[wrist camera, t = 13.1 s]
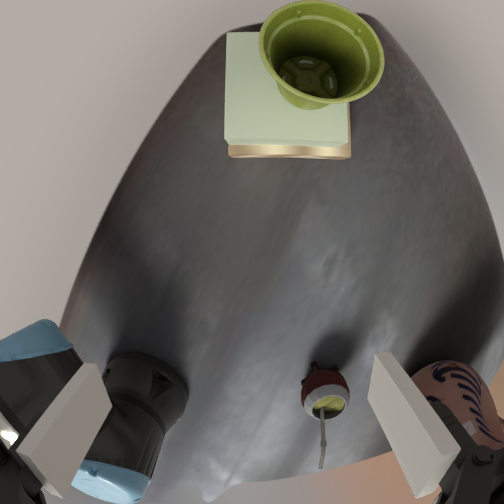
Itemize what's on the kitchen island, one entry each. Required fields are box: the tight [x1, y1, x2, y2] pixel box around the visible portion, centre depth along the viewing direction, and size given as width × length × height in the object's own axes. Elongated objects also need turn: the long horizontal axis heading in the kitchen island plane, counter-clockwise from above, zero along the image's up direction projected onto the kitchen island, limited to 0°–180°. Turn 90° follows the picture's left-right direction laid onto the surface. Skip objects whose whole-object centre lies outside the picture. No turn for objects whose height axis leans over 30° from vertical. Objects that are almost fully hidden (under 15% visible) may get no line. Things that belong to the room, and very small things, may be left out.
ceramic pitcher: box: [411, 360, 504, 450], centre depth 32 cm, size 18×21×25 cm
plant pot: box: [258, 0, 384, 110], centre depth 21 cm, size 9×9×9 cm
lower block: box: [228, 102, 351, 160], centre depth 33 cm, size 14×14×5 cm
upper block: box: [224, 32, 348, 148], centre depth 28 cm, size 12×12×5 cm
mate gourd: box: [301, 362, 350, 469], centre depth 37 cm, size 8×8×15 cm
